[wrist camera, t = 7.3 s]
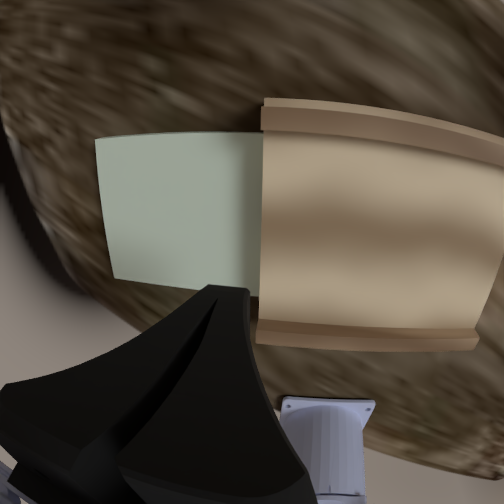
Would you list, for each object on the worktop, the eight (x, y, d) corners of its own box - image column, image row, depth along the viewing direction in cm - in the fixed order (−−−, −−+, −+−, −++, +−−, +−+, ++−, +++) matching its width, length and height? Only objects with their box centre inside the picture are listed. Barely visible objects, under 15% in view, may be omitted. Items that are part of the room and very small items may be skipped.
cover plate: (262, 283, 20) (258, 296, 19) (124, 267, 21) (114, 278, 20) (268, 132, 16) (264, 134, 14) (108, 136, 17) (95, 139, 16)
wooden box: (454, 322, 18) (471, 354, 15) (263, 311, 20) (255, 348, 17) (502, 139, 13) (537, 149, 9) (269, 99, 14) (261, 96, 11)
